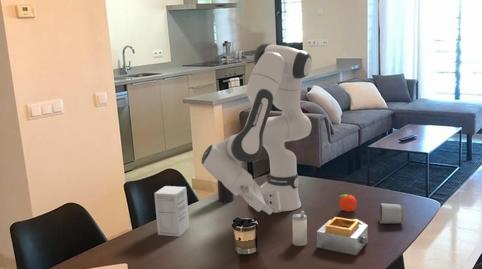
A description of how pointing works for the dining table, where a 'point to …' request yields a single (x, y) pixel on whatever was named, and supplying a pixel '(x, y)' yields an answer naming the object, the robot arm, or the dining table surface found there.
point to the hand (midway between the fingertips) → (269, 207)
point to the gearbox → (342, 236)
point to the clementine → (348, 202)
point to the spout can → (299, 229)
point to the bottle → (224, 193)
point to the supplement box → (172, 211)
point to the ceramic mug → (390, 213)
